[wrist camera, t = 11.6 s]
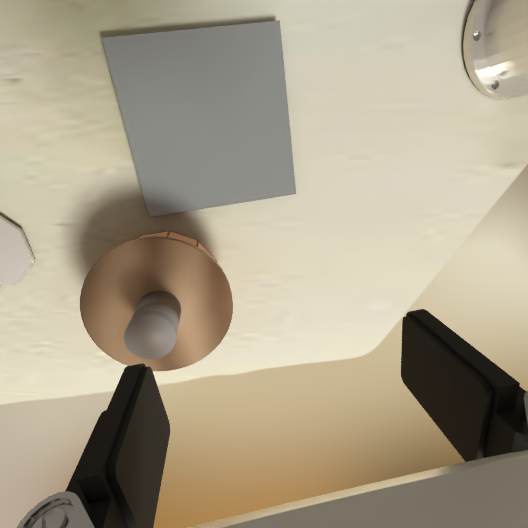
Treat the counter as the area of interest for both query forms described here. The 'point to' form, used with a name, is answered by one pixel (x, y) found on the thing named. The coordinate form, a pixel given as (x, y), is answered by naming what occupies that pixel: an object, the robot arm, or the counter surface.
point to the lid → (156, 303)
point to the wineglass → (13, 253)
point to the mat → (205, 114)
